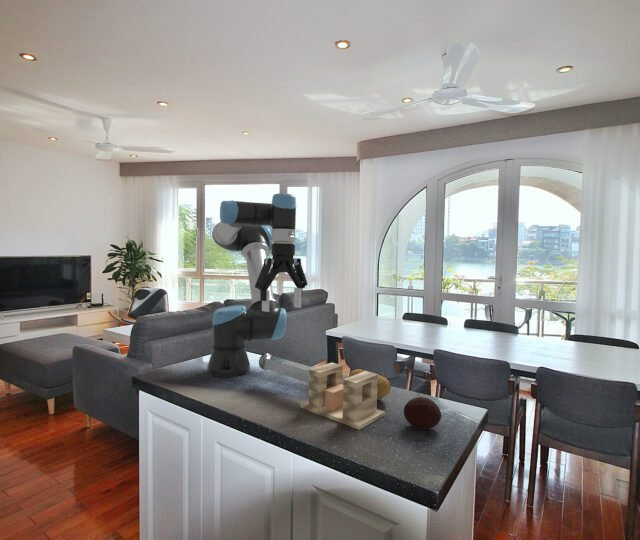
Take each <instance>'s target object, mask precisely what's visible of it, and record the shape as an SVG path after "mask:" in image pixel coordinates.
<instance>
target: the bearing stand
mask: <svg viewBox="0 0 640 540" xmlns="http://www.w3.org/2000/svg"><path fill="white" fill-rule="evenodd" d="M343 366H344V365H343V364H339V363H335V362H329V363H326V364H323V365H320V366H316V367H314V368H313V369H309V383H308V400H307V401H305V402H302V403H300V408H301V409H304V410H306V411H309V412H311V413H314V414H317V415H320V416H322V417H324V418H327V419H329V420H333V421H335V422H337V423H341V424H343V425H346V426H349V427H350V428H353V429H355V430H362V429H363V428H366V427H367V426H368V425H370V424H372V423H374V422H376V421H377V420H379V419H381V418H383V417H385V415H386V411H384V410H381V409H378V400H377V384H378V375H379V374H378V373H375V372H372V371H369V372H367V371H368V370H365V372H362V373H359V374H357V375H354V376H351V377H349V376H348V377H346V378H344V379H343V370H344V369H343ZM371 372H372V373H371ZM329 374H330V379H329V384H328V385H327V375H329ZM339 384H343V407H341V408H339V409H337V410H334V411H331V410H329V409H326V408H325V390H326V389H329V388H332V387H334V386H337V385H339Z"/></svg>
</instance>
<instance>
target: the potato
mask: <svg viewBox="0 0 640 540" xmlns="http://www.w3.org/2000/svg"><path fill="white" fill-rule="evenodd" d="M365 371H367V372H371V373H373V372H372V371H370V370H369V371H368V370H365V369H360V368H357V369H354V370H352V371H351V372H350V373H349V374H348V375H349V376H348V378H349V377H351V376H354V375H357V374H359V373H362V372H365ZM391 389H392V386H391V382H390V381H389V380H388V379H387V378H386V377H384V376H383V375H380V374H378V384H377V401H379V400H382V399H384V397H386V396H388V395H389V394H390V393H391Z"/></svg>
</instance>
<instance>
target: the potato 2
mask: <svg viewBox="0 0 640 540" xmlns="http://www.w3.org/2000/svg"><path fill="white" fill-rule="evenodd" d="M403 415H404V418H405V420H406V422H407V423H408V424H410V425H411V426H412V427H413V428H415V429H418V430H423V431H424V430H430V429H433V428H435V427H436V426H437V425H438V424H439V423H440V422H441V418H442V411H441V409H440V408H439V406H438V404H436V402H435V401H433V400H432V399H430V398H429V397H424V396H419V397H418V396H416V397H413V398H411V399H410V400H408V401H407V402H406V403H405V405H404V408H403Z"/></svg>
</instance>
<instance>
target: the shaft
mask: <svg viewBox="0 0 640 540" xmlns="http://www.w3.org/2000/svg"><path fill="white" fill-rule="evenodd" d="M258 367H259V368H260V369H261V370H264V371H267V370H268V371H271V372H274V373H277V374H280V375H283V376H285V377H286V376H287V377H290V378H291V379H295V380H298V381H302V382H304V383H308V384H309V369H313V368H315V367H313V366H309V365H305V364H302V363H300V362H296V361H292V360H288V359H285V358H281V357H279V356H275V355H272V354H271V353H268V352H267V353H266V352H265V353H262V354H261V356H260V357H259V359H258ZM329 379H330V374H329V375H327V385H328V384H329Z"/></svg>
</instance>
